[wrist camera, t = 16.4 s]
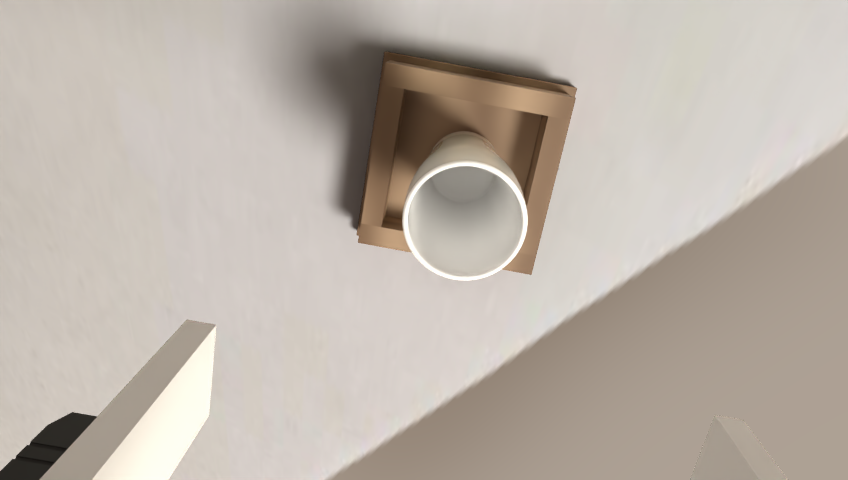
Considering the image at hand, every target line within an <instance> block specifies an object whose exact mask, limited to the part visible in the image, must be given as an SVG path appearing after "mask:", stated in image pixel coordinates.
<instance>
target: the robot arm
mask: <svg viewBox="0 0 848 480" xmlns="http://www.w3.org/2000/svg"><path fill="white" fill-rule="evenodd" d="M215 335H216V325H214V324H209V323H203V322H197V321H192V320H186V321H185V322H184V323H183V324H182V325H181V327H180V328H179V329H178V330H177V331H176V332H175V333H174V334H173V335H172V336H171V337H170V338H169V340H168V341H167V342H166V343H165V344H164V345H163V346H162V347H161V348H160V349H159V350H158V351H157V353H156V354H155V355H154V356H153V357H152V358H151V359H150V360H149V361H148V362H147V363H146V364H145V366H144V367H143V368H142V369H141V370H140V371H139V372H138V373H137V374H136V375H135V376H134V378H133V379H132V380H131V381H130V382H129V383H128V384H127V385H126V386H125V387H124V388H123V389H122V391H121V392H120V393H119V394H118V395H117V396H116V397H115V398H114V399H113V400H112V401H111V402H110V404H109V405H108V406H107V407H106V408H105V409H104V410H103V411H102V412H101V413H100V414H99V416H98V417H96V416H91V415H85V414H79V413H74V412H72V413H70V414H68V415H66V416H64V417H62V418H60V419H59V420H57V421H55V422H53V423H51V424H49V425H47V426H46V427H45V428H44V429H43V430H42V431H41V432H40V433H39V434H38V435H37V436H36V437H35V438H34V439H33V440H32V441H31V443H30V445H27V446H26V447H25V448H24V449H23V450H22V451H21V452H20V453H19V454H18V455H17V456H16V459H12V460H11V461H10V462H9V463H8V464H7V465H6V466H5V467H4V468H3V469H2V470H1V471H0V480H168V479H169V478H170V476H171V475H172V473H173V472H174V470H175V468H176V467H177V465H178V464H179V462H180V460H181V459H182V457H183V456H184V454H185V453H186V451H187V449H188V448H189V446H190V445H191V443H192V442H193V440H194V438H195V437H196V435H197V434H198V432H199V430H200V429H201V427H202V426H203V424H204V423H205V421H206V419H207V418H208V416H209V410H210V397H211V385H212V372H213V360H214V348H215ZM690 480H788V479H787V477H786V476H785V475H784V473H783V472H782V471H781V470H780V468H779V467H778V465H777V464H776V463H775V461H774V460H773V459H772V457H771V456H770V455H769V453H768V452H767V451H766V449H765V448H764V447H763V446H762V444H761V443H760V442H759V440H758V439H757V437H756V436H755V435H754V433H753V432H752V431H751V429H750V428H749V427H748V425H747V424H746V423H745V421H744V420H740V419H735V418H729V417H724V416H718V415H715V416H714V419H713V421H712V423H711V426H710V429H709V431H708V434H707V437H706V439H705V442H704V445H703V447H702V450H701V452H700V455H699V458H698V460H697V463H696V465H695V468H694V471H693V474H692V476H691V478H690Z"/></svg>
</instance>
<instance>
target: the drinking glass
mask: <svg viewBox="0 0 848 480" xmlns="http://www.w3.org/2000/svg"><path fill="white" fill-rule="evenodd" d="M527 225H528V216H527V208H526V203H525V198H524V195H523V192H522V189H521V186H520V184H519V181H518V179H517V177H516V176H515V174H514V172H513V171H512V169H511V168H510V166H509V165H508V164H507V163H506V162H505V161H504V160H503V158H502V157H501V156H500V155H499V154H498V153H497V152H496V150H495V148H494V147H493V145H492V144H491V143H490V142H489V141H488V140H487V139H486V138H484V137H483V136H481V135H479V134H477V133H474V132H469V131H458V132H453V133H450V134H448V135H446V136H444V137H443V138H442V139H440V140H439V141H438V142H437V143H436V144H435V146H434V147H433V148H432V150H431V152H430V154H429V156H428V157H427V158H426V159H425V160H424V162H423V163H422V164H421V165H420V167H419V168H418V169H417V171H416V173H415V174H414V176H413V178H412V180H411V182H410V184H409V187H408V190H407V193H406V197H405V201H404V208H403V215H402V226H403V233H404V236H405V240H406V242H407V245H408V247H409V249H410V250H411V252H412V253H413V255H414V256H415V257H416V259H417V260H418V261H419V262H420V263H421V264H422V265H423V266H425V267H426V268H427V269H429V270H430V271H432V272H434V273H436V274H438V275H440V276H442V277H445V278H449V279H454V280H476V279H481V278H484V277H487V276H490V275H492V274H494V273H496V272H498V271H499V270H501V269H502V268H504V267H505V266H506V265H507V264H508V263H509V262H510V261H511V260H512V259H513V258H514V257H515V256H516V254H517V253H518V251H519V250H520V248H521V246H522V244H523V242H524V239H525V236H526V232H527Z"/></svg>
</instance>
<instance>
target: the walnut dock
mask: <svg viewBox="0 0 848 480" xmlns="http://www.w3.org/2000/svg"><path fill="white" fill-rule="evenodd" d="M576 90H577V88H575V87H572V86H566V85H561V84H556V83H551V82H545V81H540V80H535V79H529V78H524V77H519V76H513V75H508V74H503V73H497V72H492V71H487V70H482V69H476V68H471V67H466V66H460V65H455V64H450V63H444V62H439V61H434V60H429V59H423V58H418V57H413V56H407V55H402V54H397V53H391V52H384V58H383V65H382V71H381V78H380V84H379V91H378V98H377V104H376V111H375V117H374V124H373V130H372V137H371V144H370V150H369V157H368V163H367V170H366V176H365V183H364V190H363V196H362V203H361V209H360V216H359V222H358V229H357V235H358V236H359V239H358V243H363V244H369V245H374V246H379V247H385V248H390V249H395V250H401V251H406V252H411V250H410V249H409V247H408V245H407V242H406V240H405V236H404V233H403V226H402V215H403V208H404V201H405V197H406V193H407V190H408V187H409V184H410V182H411V180H412V178H413V176H414V174H415V173H416V171H417V169H418V168H419V167H420V165H421V164H422V163H423V162H424V160H425V159H426V158H427V157H428V156H429V154H430V152H431V150H432V148H433V147H434V146H435V144H436V143H437V142H438V141H439V140H440V139H442V138H443V137H444V136H446V135H448V134H450V133H453V132H458V131H469V132H474V133H477V134H479V135H481V136H483V137H484V138H486V139H487V140H488V141H489V142H490V143H491V144H492V145H493V147H494V148H495V150H496V152H497V153H498V154H499V155H500V156H501V157H502V158H503V160H504V161H505V162H506V163H507V164H508V165H509V166H510V168H511V169H512V171H513V172H514V174H515V176H516V177H517V179H518V181H519V184H520V186H521V189H522V192H523V195H524V198H525V203H526V208H527V216H528V225H527V232H526V236H525V239H524V242H523V244H522V246H521V248H520V250H519V251H518V253H517V254H516V256H515V257H514V258H513V259H512V260H511V261H510V262H509V263H508V264H507V265H506V266H505V267H504V268H502V269H503V270H508V271H514V272H519V273H525V274H530V275H531V274H532V270H533V266H534V262H535V258H536V254H537V250H538V246H539V242H540V238H541V234H542V230H543V226H544V222H545V218H546V214H547V210H548V206H549V202H550V198H551V194H552V190H553V186H554V182H555V179H556V175H557V171H558V167H559V163H560V159H561V155H562V151H563V147H564V143H565V139H566V135H567V131H568V127H569V123H570V119H571V115H572V111H573V107H574V103H575V99H576V98H575V94H576Z"/></svg>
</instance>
